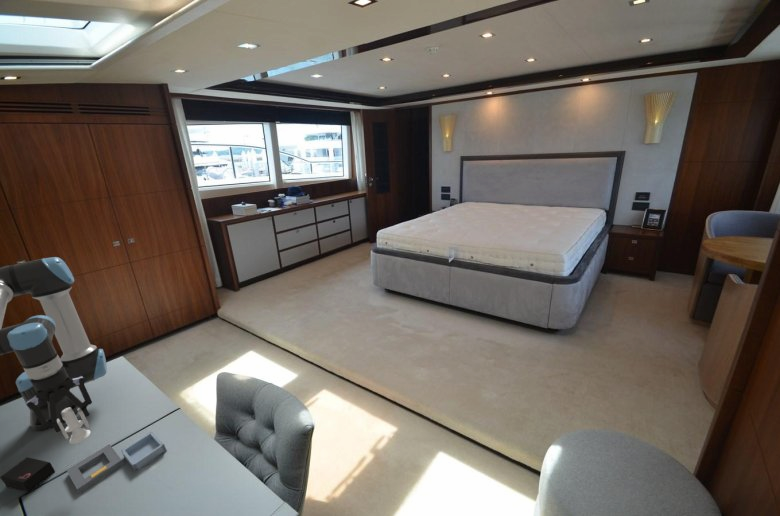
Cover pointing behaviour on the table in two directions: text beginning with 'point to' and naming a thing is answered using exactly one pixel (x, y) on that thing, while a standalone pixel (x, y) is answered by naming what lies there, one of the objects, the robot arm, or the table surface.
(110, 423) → the table surface
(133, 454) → the tray
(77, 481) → the socket panel
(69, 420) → the white cylindrical piece
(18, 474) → the electronic device
